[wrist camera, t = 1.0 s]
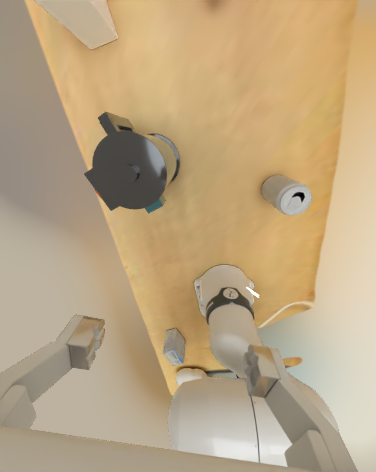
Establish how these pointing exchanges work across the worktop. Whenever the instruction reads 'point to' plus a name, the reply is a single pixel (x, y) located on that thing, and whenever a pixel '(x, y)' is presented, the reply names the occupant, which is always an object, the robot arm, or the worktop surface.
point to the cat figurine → (189, 375)
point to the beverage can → (286, 195)
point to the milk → (83, 19)
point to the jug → (132, 166)
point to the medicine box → (174, 347)
